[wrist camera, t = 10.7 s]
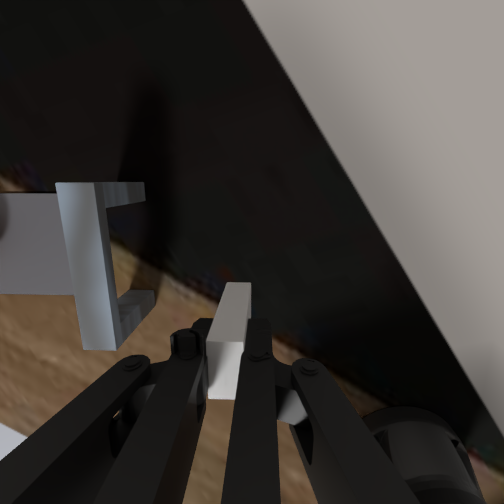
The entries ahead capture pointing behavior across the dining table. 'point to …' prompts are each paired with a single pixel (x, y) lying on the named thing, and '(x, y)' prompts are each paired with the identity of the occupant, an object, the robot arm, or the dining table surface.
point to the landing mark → (33, 245)
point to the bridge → (99, 262)
